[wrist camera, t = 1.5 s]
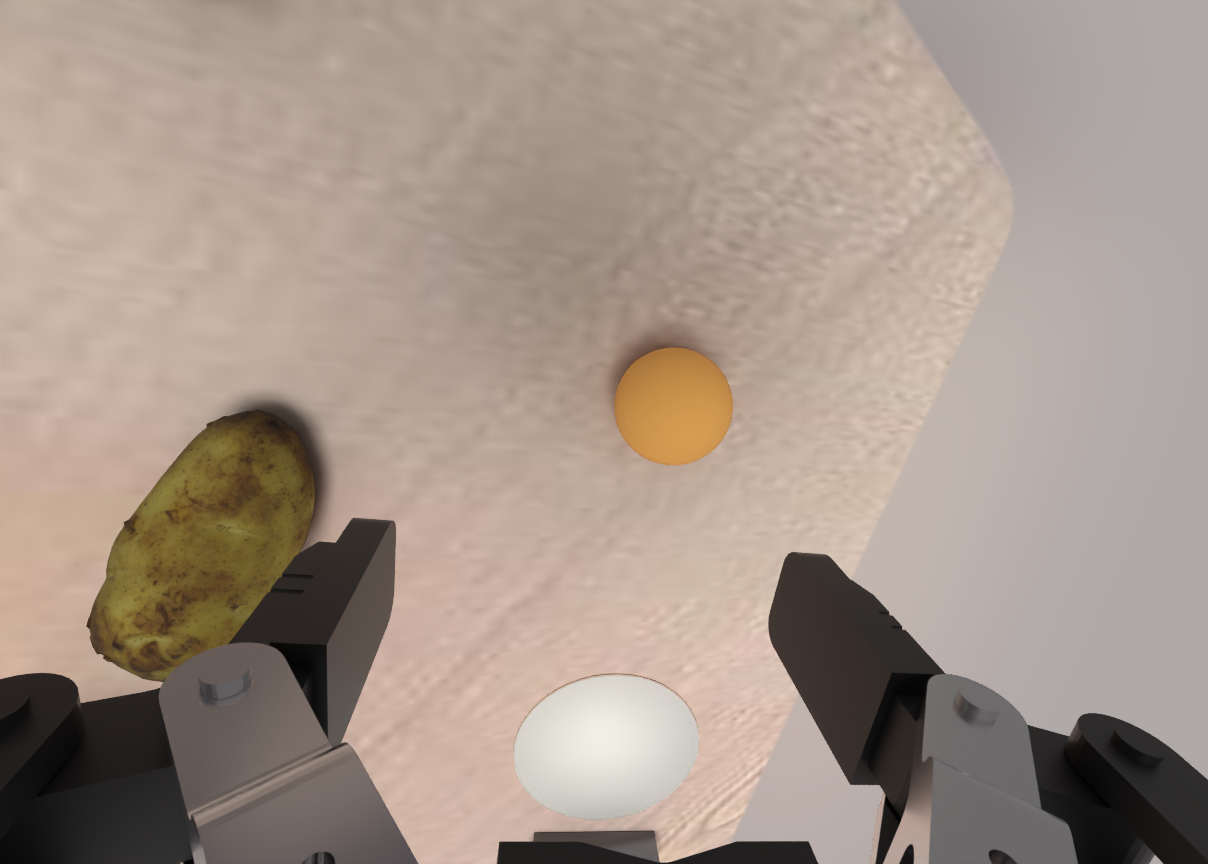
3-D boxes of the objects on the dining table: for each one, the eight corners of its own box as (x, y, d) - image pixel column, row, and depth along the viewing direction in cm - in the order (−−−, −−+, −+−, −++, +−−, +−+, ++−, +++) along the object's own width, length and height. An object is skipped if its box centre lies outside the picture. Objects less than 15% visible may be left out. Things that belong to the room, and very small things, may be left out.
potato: (389, 480, 32) (342, 555, 25) (251, 625, 34) (168, 734, 27) (260, 381, 30) (164, 429, 22) (119, 543, 32) (-13, 638, 24)
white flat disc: (520, 671, 37) (520, 673, 37) (712, 676, 39) (713, 678, 39) (508, 818, 41) (507, 820, 41) (682, 816, 43) (683, 818, 43)
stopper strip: (534, 832, 42) (533, 868, 40) (653, 831, 43) (660, 865, 41) (532, 852, 43) (531, 888, 40) (650, 850, 44) (656, 884, 41)
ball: (615, 332, 31) (631, 354, 25) (722, 343, 32) (761, 367, 26) (602, 437, 33) (614, 480, 27) (704, 445, 33) (736, 488, 28)
